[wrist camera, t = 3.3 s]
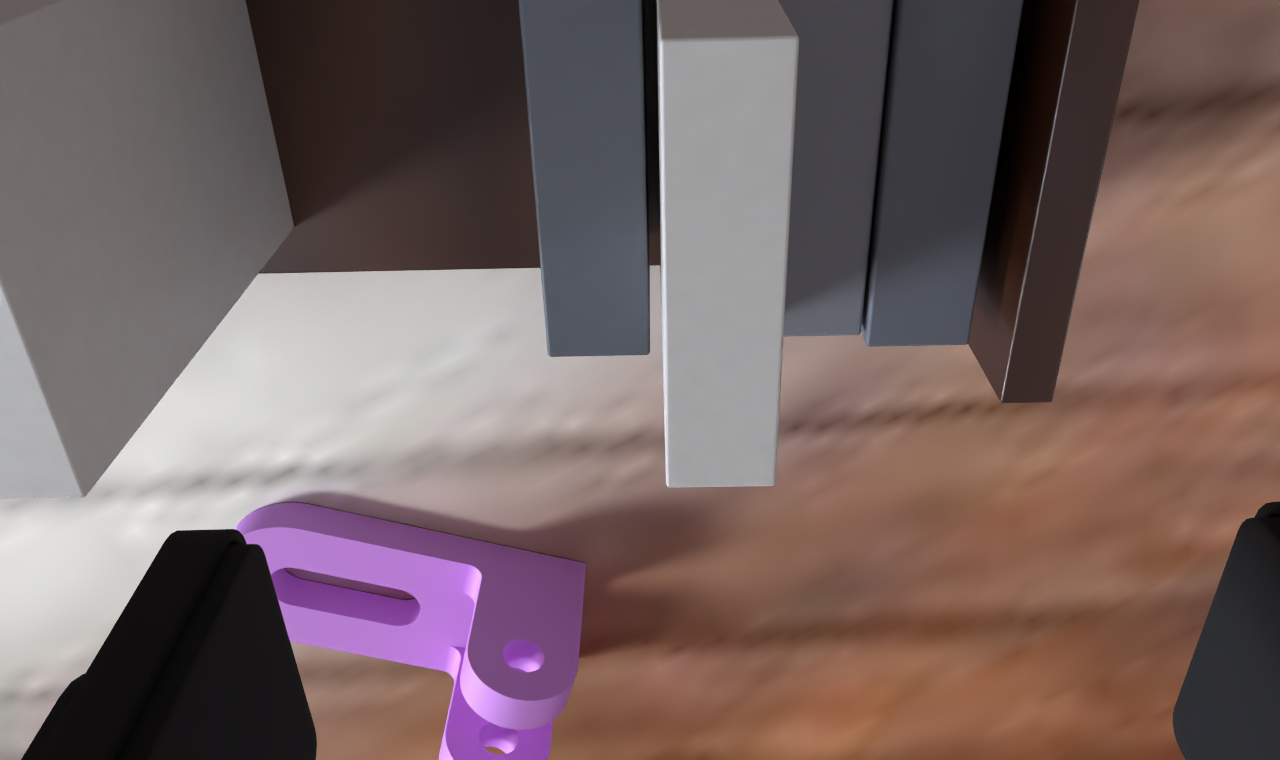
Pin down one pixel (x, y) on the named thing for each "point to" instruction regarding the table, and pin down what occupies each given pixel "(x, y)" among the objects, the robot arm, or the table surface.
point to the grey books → (821, 173)
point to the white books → (121, 217)
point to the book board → (502, 164)
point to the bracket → (437, 616)
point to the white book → (724, 233)
